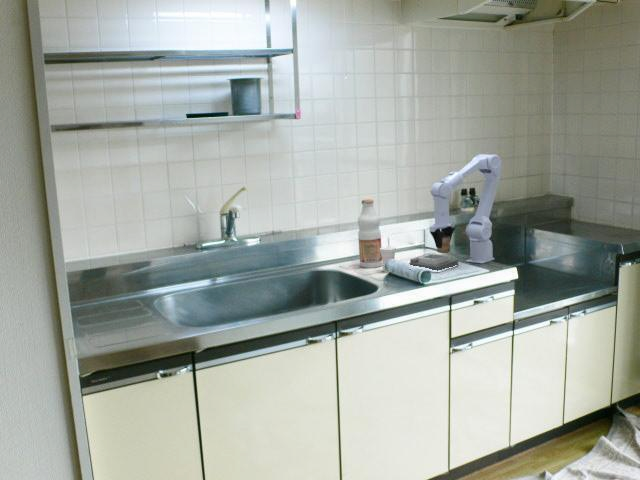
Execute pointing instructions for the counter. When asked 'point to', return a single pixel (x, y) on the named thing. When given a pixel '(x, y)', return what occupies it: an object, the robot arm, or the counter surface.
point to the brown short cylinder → (445, 245)
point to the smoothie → (387, 253)
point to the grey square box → (433, 261)
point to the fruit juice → (369, 236)
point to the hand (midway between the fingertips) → (443, 246)
